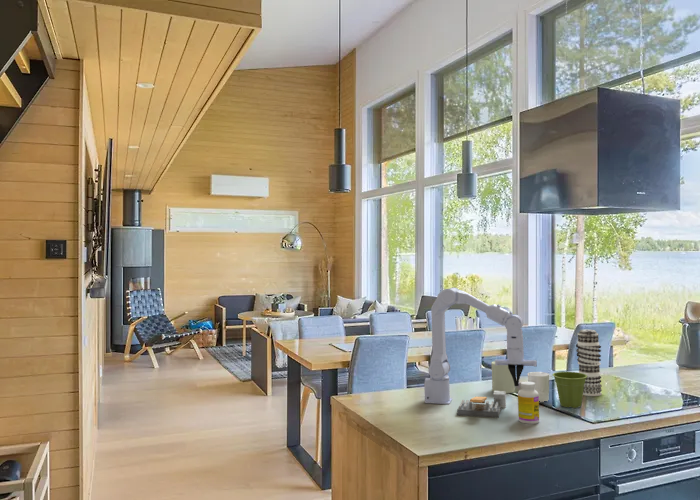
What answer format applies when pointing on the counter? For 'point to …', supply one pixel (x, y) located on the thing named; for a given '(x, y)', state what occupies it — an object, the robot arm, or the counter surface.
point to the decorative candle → (589, 361)
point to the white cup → (540, 384)
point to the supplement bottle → (528, 403)
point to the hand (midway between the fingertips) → (516, 385)
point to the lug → (500, 398)
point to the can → (502, 378)
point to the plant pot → (570, 388)
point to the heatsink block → (479, 409)
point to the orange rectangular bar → (478, 399)
